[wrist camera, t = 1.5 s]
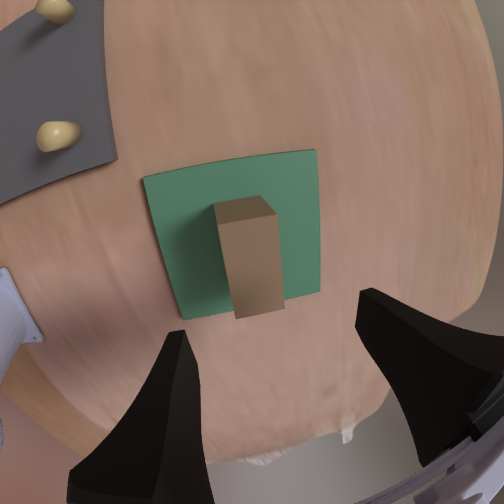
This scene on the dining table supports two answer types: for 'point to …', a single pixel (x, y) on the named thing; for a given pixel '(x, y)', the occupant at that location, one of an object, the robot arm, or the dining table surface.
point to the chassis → (53, 95)
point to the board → (199, 228)
